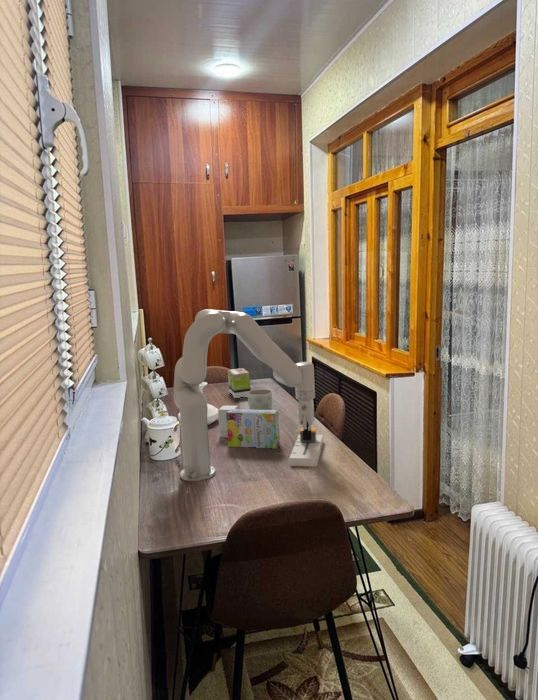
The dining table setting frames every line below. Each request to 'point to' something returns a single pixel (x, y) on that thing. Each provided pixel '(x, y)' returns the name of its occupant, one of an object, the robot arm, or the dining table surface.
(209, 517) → the dining table surface
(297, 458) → the fader console
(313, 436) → the fader knob
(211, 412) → the candle holder
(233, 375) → the tea box
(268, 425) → the snack box
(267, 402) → the planter
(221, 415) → the supplement box
